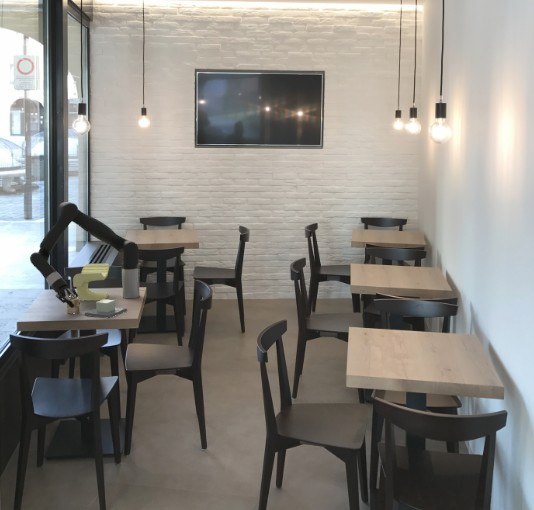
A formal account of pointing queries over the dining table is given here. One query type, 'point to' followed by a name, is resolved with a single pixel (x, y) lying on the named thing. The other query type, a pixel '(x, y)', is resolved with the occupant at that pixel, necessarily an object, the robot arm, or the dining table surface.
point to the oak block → (76, 306)
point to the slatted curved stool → (87, 275)
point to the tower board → (103, 314)
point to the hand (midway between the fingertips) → (76, 305)
